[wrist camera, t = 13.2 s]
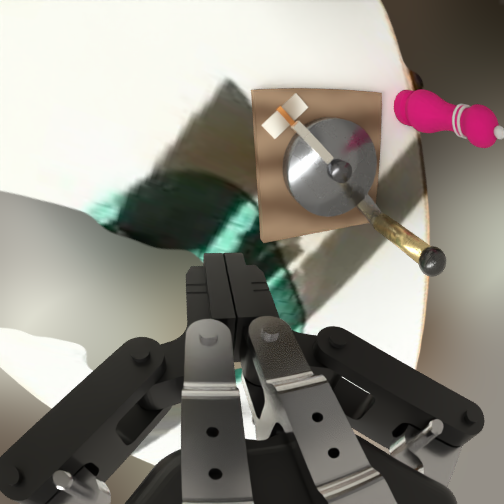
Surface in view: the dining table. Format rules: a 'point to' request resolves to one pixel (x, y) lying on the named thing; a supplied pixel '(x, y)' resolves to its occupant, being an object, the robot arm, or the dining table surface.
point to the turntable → (346, 182)
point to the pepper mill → (447, 117)
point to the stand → (277, 139)
